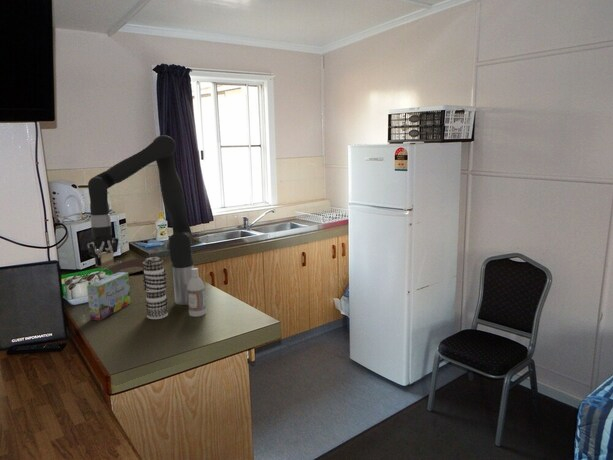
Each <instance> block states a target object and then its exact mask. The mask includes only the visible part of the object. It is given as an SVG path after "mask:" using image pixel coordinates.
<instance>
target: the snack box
mask: <svg viewBox="0 0 613 460" xmlns="http://www.w3.org/2000/svg"><path fill="white" fill-rule="evenodd" d="M128 273H129V272H123V271H121V272H119V271H117V272H116V273H114V274H110V275H109V276H107V277H104V278H102V279H99V280H98V281H94V282H93V283H90V284H88V285H87V286H86V287H87V288H86V289H87V298H88V310H89V311H88V312H89V319H90V320H92V321H99V322H101V321H102V320H104V319H106V318H107V317H109V316H112V314H113V315H114V313H116V312H118V311H120V310H121V309H122V310H123V307H124V308H125V307H128V306H129V305H131V304H130V303H131V292H130V291H131V289H130V279H129V277H130V274H128ZM128 304H129V305H128ZM90 320H89V321H90Z"/></svg>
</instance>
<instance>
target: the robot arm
mask: <svg viewBox="0 0 613 460" xmlns="http://www.w3.org/2000/svg"><path fill="white" fill-rule="evenodd" d="M176 147H177V146H176V141H175V140H174V139H173V138H172V137H171V136H170V135H165V134H163V135H159V136H156V137H155V138H154V139H153V141H152V142H151V143H150V144H149V145H147V146H146V147H145V148H143V149H142V150H140V151H138V152H136V153H134V154H132V155H131V156H129V157H127V158H124V159H123V160H121V161H119V162H118V163H116V164H114V165H113V166H111V167H110V168H108V169H106V170H105V171H103V172H101V173H99V174H96V175H94V176H93V177H91V178H90V179H89V181H88V183H87V187H88V195H89V202H90V205H89V207H90V209H89V210H90V227H91V236H92V239H93V240H92V241H91V242H90V243H89V242H87V243H86V244H85V245H86V247H87V251H88V254H89V256H90V257H92V258H94V263H95V266H96V265H97V266H96V267H98V266H101V258H100V255H101V253H103V250H104V249H105V251H106V252H108V253H113V255H114V254H115V253H117V252H118V247H119V238H117V237H112V235H113V232H112V230H113V229H112V219H111V216H110V206H109V205H110V204H109V201H108V198H109V196H108V189H110V188H111V187H113V186H114V185H116V184H119V183H121V182H123V181H125V180H127V179H128V178H130V177H132V176H133V175H135V174H136V173H138V172H140V171H141V170H142V169H143V168H145V167H147V166H148V165H151V164H152V163H154V162H156V165H157V169H158V177H159V185H160V187H159V188H160V192H161V196H162V201H163V206H164V208H165V210H166V212H167V214H168V216H169V218H170V221H171V227H172V234H171V236H170V237H169V241H168V242H169V243H168V247H169V257H170V262H171V266H172V277H173V278H172V279H173V280H172V281H173V290H174V291H173V293H174V303H175V305H180V306H183V305H184V306H185V305H186V306H188V292H187V287H188V283H189V281H190V279H191V277H192V276H191V269H192V268H195V267H194V259H193V257H192V251H191V250H192V249H191V246H193V245H192V244H193V243H194V237H193V233H192V230H191V226H190V223H189V220H188V216H187V215H188V214H187V213H188V212H187V206H186V198H185V194H184V193H185V192H184V189H183V188H184V187H183V185H182V182H181V178H180V177H179V174H178V171H177V168H176V164H175V156H174V155H175V154H174V153H175V150H176Z"/></svg>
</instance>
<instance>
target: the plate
mask: <svg viewBox="0 0 613 460" xmlns="http://www.w3.org/2000/svg"><path fill="white" fill-rule="evenodd" d="M147 258H148V257H143V258H133V259H129V260H126V261H122V262H119V263H117V264H114V265H112V266H111V267H110V268H109V269H108V270H111V271H112V272H115V271H117V272H118V271H121V270H125V269H129V268H132V270H135V268H142V269H141V270H137V271H136V270H135V271H133V272H132V271H131V272H127V273H128V274H129V275H130V274H131V275H132V274H134V273H137V272H143V271H144V264H143V262H145V260H146V259H147Z"/></svg>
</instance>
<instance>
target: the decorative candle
mask: <svg viewBox="0 0 613 460" xmlns="http://www.w3.org/2000/svg"><path fill="white" fill-rule="evenodd" d="M146 258H147V259H146V260H145V262H143V264H144V270H143V273H144V274H143V276H142V278H143V280H142V281H143V287H144V288H143V290H144V292H145V294H146V297H145V299H146V301H145V303H146V305H145V306H146V315H147V316H146V318H147V319H150V320H160V319H163V318H166V317H168V315H169V310H168V307H169V306H168V302H167V301H168V298H167V294H166V288H167V286H166V284H167V281H166V280H167V278H166V277H165V276H166V275H167V273H166V271H167V270H166V269H165V267H164V260H163V259H162V258H161V257H159V256H152V257H151V256H150V257H146Z"/></svg>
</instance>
